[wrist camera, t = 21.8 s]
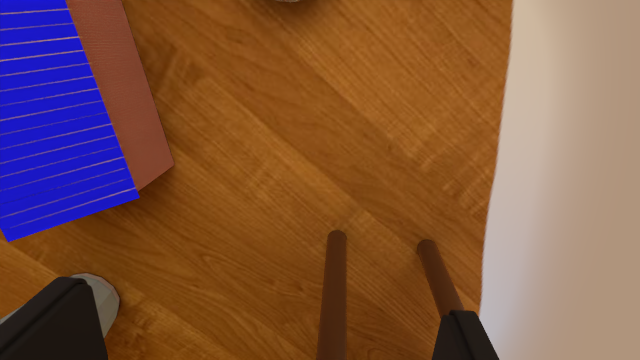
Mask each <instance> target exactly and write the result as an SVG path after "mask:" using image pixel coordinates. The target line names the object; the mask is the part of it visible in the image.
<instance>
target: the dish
mask: <svg viewBox="0 0 640 360" xmlns="http://www.w3.org/2000/svg"><path fill="white" fill-rule="evenodd" d="M276 1H285V2H298V1H300V0H276Z"/></svg>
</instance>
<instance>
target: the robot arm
mask: <svg viewBox="0 0 640 360" xmlns="http://www.w3.org/2000/svg"><path fill="white" fill-rule="evenodd" d="M0 360H108V355H107V350H106V346H105V342H104V337H103V333H102V329H101V324H100V320H99V316H98V311H97V307H96V302H95V298H94V294H93V289H92V287H91V286H90V285H88V283H87V281H86V280H85V279H83V278H73V277H58V278H56V279H55V280H53V281H52V282H51V283H50V284H49V285H47V286H46V287H45V288H44V289H43V290H41V291H40V292H39V293H38V294H37V295H35V296H34V297H33V298H32V299H30V300H29V301H28V302H27V303H26V304H24V305H23V306H22V307H21V308H20V309H18V310H17V311H16V312H15V313H14V314H12V315H11V316H10V317H9V318H8V319H6V320H5V321H4V322H3V323H2V324H0ZM432 360H499V358H498V356H497V354H496V352H495V350H494V348H493V346H492V344H491V342H490V340H489V338H488V336H487V334H486V332H485V330H484V328H483V326H482V324H481V322H480V320H479V318H478V316H477V314H476V313H475V312H474V311H464V310H450V312H449V314H448V315H443V316H442V318H441V322H440V327H439V331H438V335H437V339H436V344H435V348H434V352H433V356H432Z"/></svg>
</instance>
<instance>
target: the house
mask: <svg viewBox="0 0 640 360" xmlns="http://www.w3.org/2000/svg"><path fill="white" fill-rule="evenodd" d="M173 165H175V164H174V161H173V158H172V155H171V152H170V149H169V146H168V143H167V140H166V137H165V134H164V131H163V128H162V124H161V121H160V118H159V115H158V112H157V109H156V106H155V103H154V100H153V97H152V94H151V91H150V88H149V85H148V81H147V78H146V75H145V72H144V69H143V66H142V63H141V60H140V57H139V54H138V51H137V48H136V45H135V42H134V39H133V35H132V32H131V29H130V26H129V23H128V20H127V17H126V14H125V11H124V8H123V5H122V2H121V0H0V228H1V230H2V232H3V234H4V235H5V237H6V239H7V241H8V242H10V241H13V240H16V239H19V238H22V237H25V236H28V235H31V234H34V233H37V232H40V231H43V230H46V229H49V228H52V227H55V226H57V225H60V224H63V223H66V222H69V221H72V220H75V219H78V218H81V217H84V216H87V215H90V214H93V213H96V212H99V211H102V210H105V209H108V208H111V207H114V206H117V205H120V204H123V203H126V202H129V201H132V200H135V199H138V198H140V197H139V195H138V191H139V190H141V189H142V188H143V187H145V186H146V185H147V184H149V183H150V182H151V181H153V180H154V179H156V178H157V177H158V176H160V175H161V174H162V173H164V172H165V171H167V170H168V169H169V168H171V167H172V166H173Z"/></svg>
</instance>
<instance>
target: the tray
mask: <svg viewBox="0 0 640 360" xmlns="http://www.w3.org/2000/svg"><path fill="white" fill-rule="evenodd" d="M417 250H418V253H419V256H420V259H421V262H422V265H423V268H424V271H425V274H426V277H427V280H428V283H429V286H430V289H431V292H432V294H433V297H434V300H435V303H436V306H437V309H438V312H439V315H440V318H442V316H443V315H448V314H449V312H450V310H464V307H463V305H462V303H461V301H460V298H459V296H458V294H457V291H456V289H455V287H454V285H453V282H452V280H451V278H450V275H449V273H448V271H447V269H446V266H445V264H444V262H443V259H442V257H441V255H440V253H439V250H438V248H437V246H436V244H435V242H433V241H431V240H423V241H421V242H420V243H419V244H418V247H417ZM464 311H465V310H464ZM316 360H347V354H346V235H345V234H344V233H343V232H342V231H339V230H335V231H332V232H331V233H330V234H329V235H328V240H327V251H326V261H325V272H324V283H323V293H322V304H321V315H320V325H319V336H318V347H317V357H316Z"/></svg>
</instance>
